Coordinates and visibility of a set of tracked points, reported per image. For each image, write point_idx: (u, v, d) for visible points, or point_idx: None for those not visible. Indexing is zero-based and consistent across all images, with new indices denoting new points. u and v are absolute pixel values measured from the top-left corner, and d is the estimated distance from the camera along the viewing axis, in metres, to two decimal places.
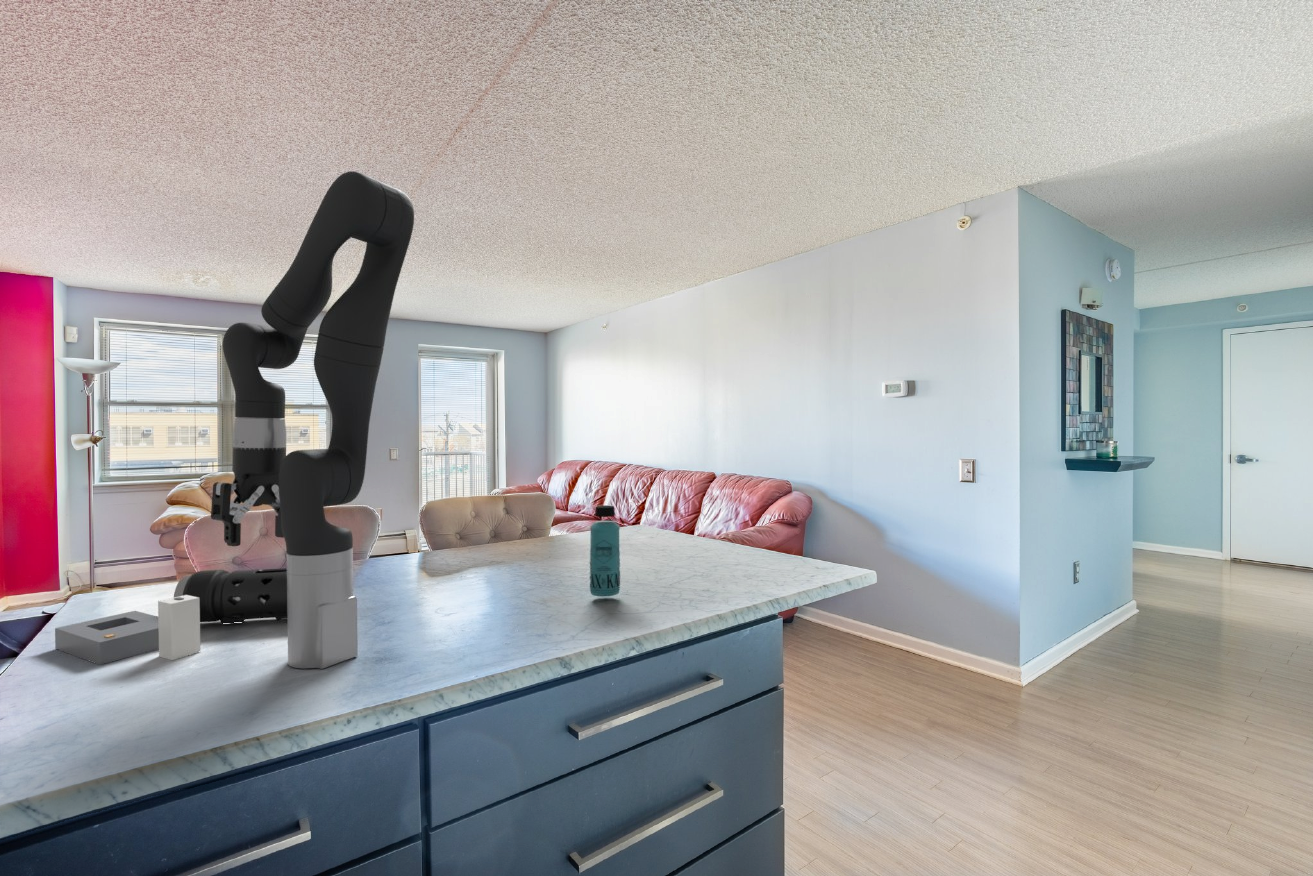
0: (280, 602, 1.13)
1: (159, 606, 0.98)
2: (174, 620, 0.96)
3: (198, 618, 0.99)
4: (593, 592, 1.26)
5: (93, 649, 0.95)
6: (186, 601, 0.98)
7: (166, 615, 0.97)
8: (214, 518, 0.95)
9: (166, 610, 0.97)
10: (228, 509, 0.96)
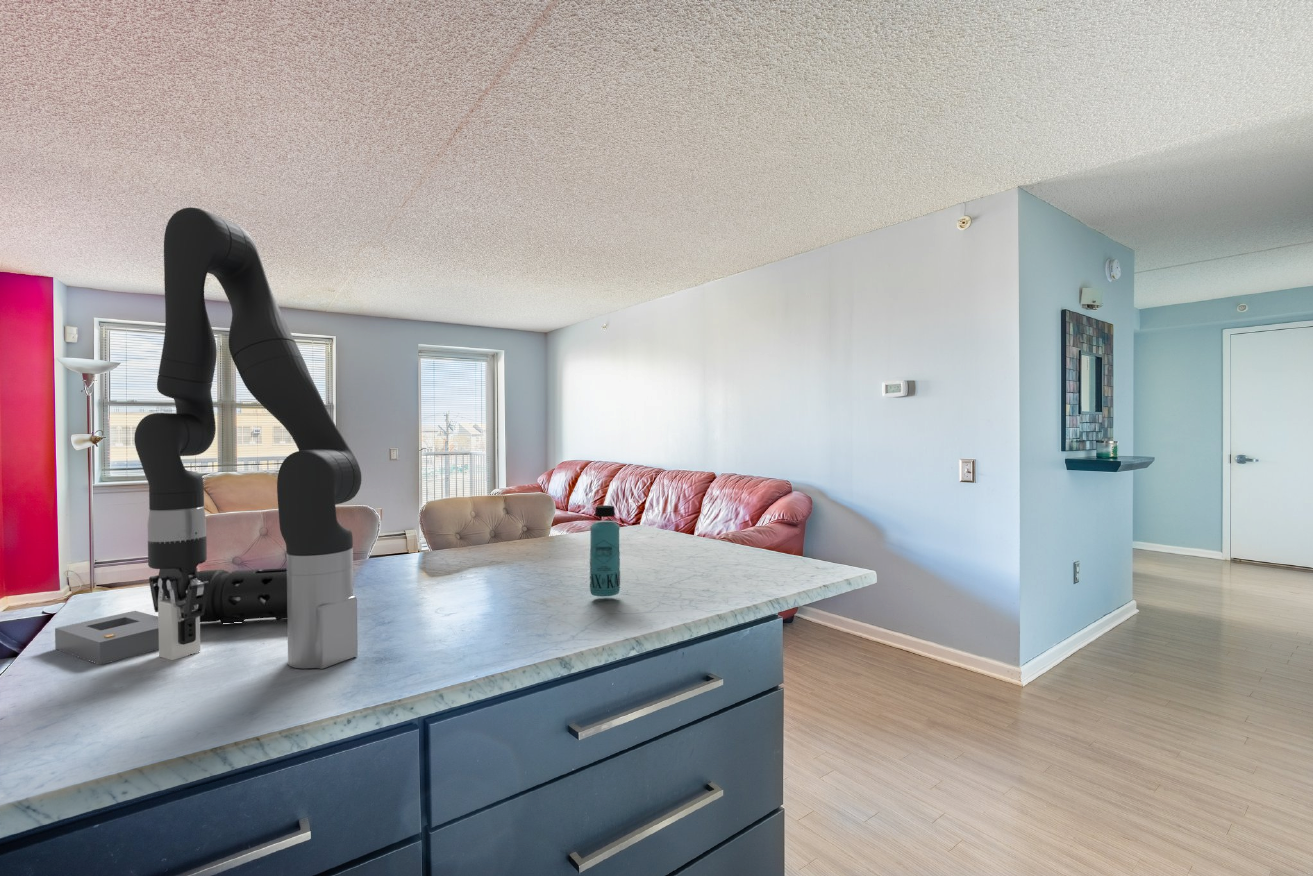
0: (280, 602, 1.13)
1: (159, 606, 0.98)
2: (174, 620, 0.96)
3: (198, 618, 0.99)
4: (593, 592, 1.26)
5: (93, 649, 0.95)
6: None
7: (166, 615, 0.97)
8: (191, 616, 0.96)
9: (166, 610, 0.97)
10: (200, 603, 0.98)
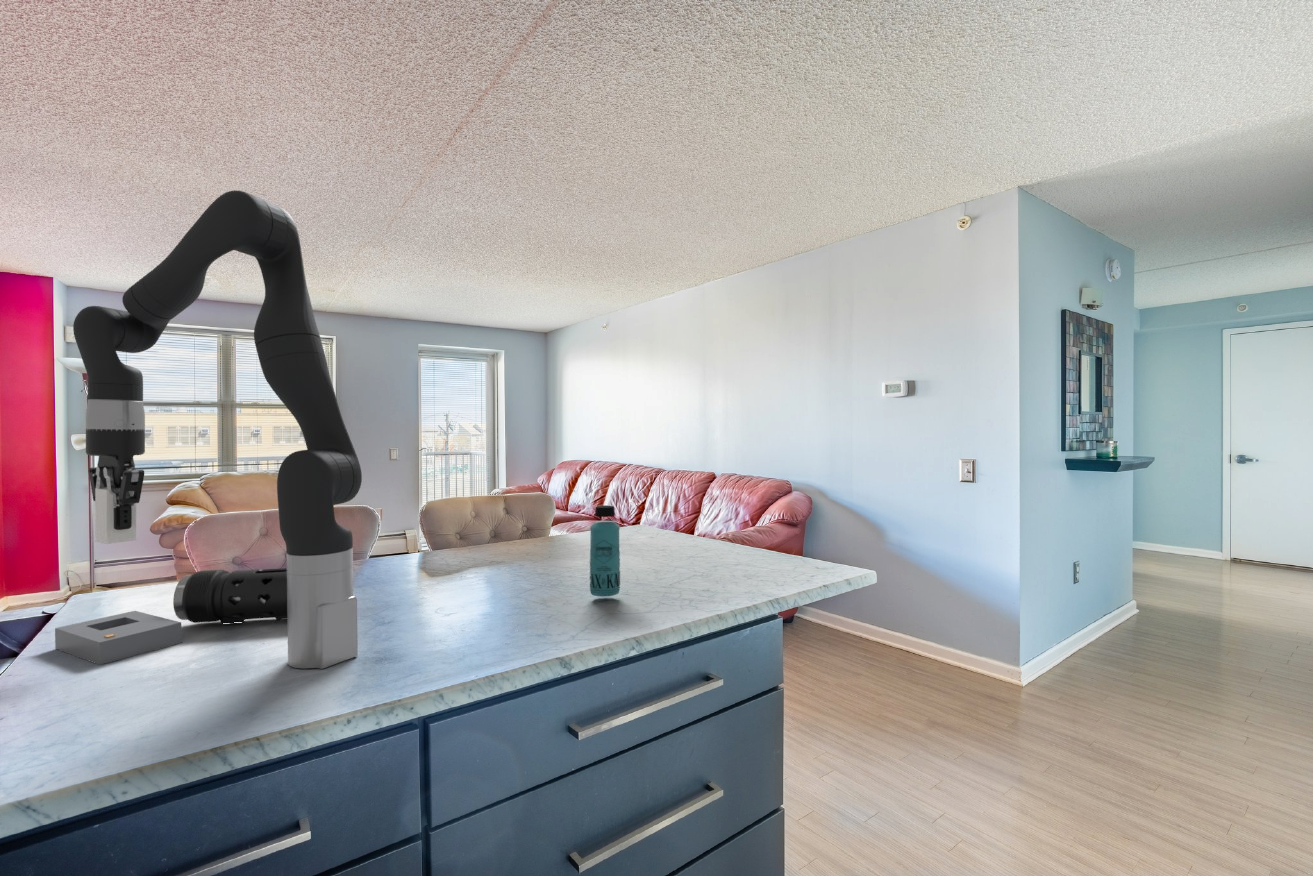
0: (280, 602, 1.13)
1: (96, 493, 1.02)
2: (110, 505, 1.01)
3: (134, 507, 1.04)
4: (593, 592, 1.26)
5: (93, 649, 0.95)
6: None
7: (102, 501, 1.01)
8: (126, 502, 1.00)
9: (102, 496, 1.01)
10: None
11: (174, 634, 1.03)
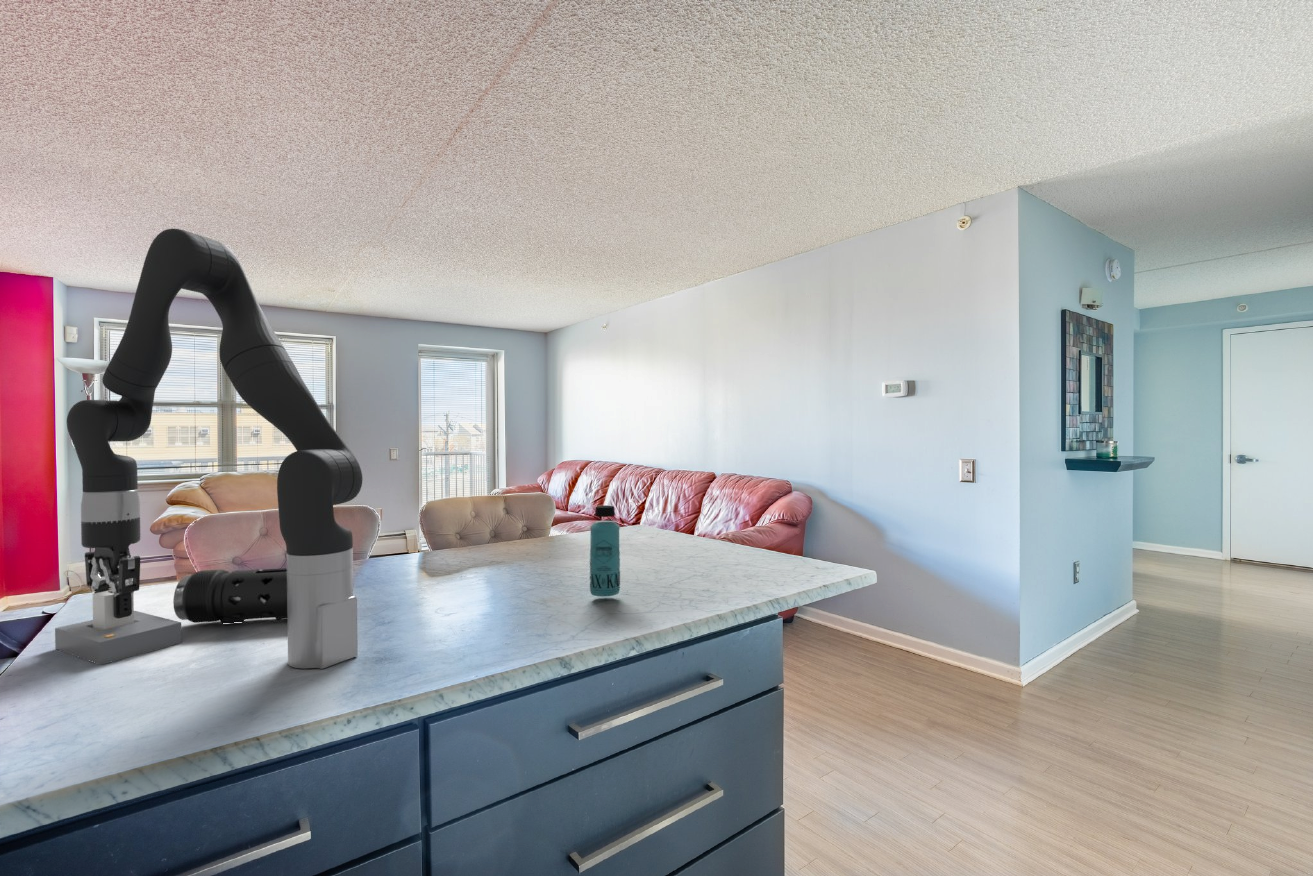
0: (280, 602, 1.13)
1: (93, 598, 1.03)
2: (108, 611, 1.01)
3: (132, 610, 1.04)
4: (593, 592, 1.26)
5: (93, 649, 0.95)
6: None
7: (100, 607, 1.02)
8: (126, 591, 1.00)
9: (100, 602, 1.02)
10: None
11: (174, 634, 1.03)
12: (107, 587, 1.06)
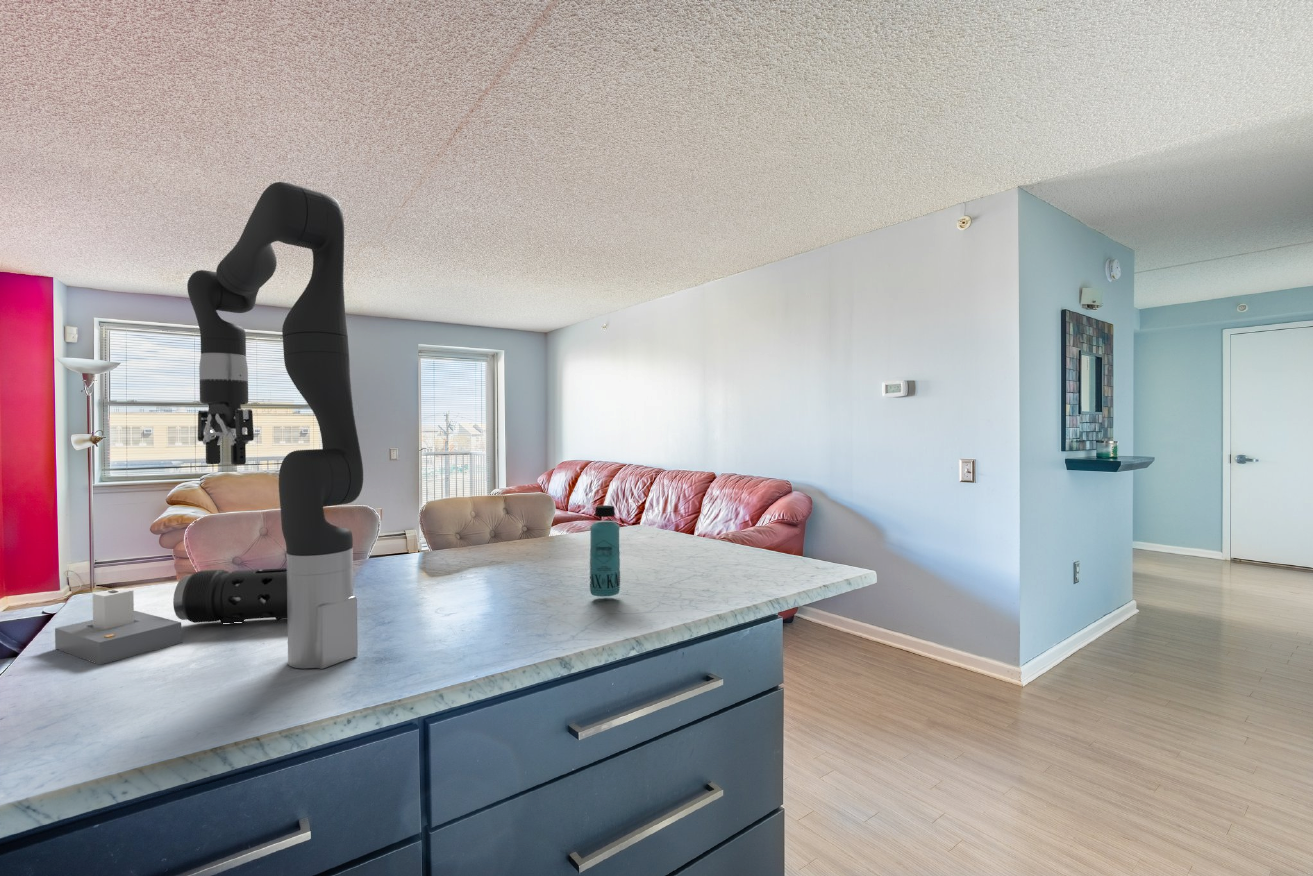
0: (280, 602, 1.13)
1: (93, 598, 1.03)
2: (108, 611, 1.01)
3: (132, 610, 1.04)
4: (593, 592, 1.26)
5: (93, 649, 0.95)
6: (120, 594, 1.03)
7: (100, 607, 1.02)
8: (243, 439, 1.11)
9: (100, 602, 1.02)
10: None
11: (174, 634, 1.03)
12: (216, 442, 1.17)
